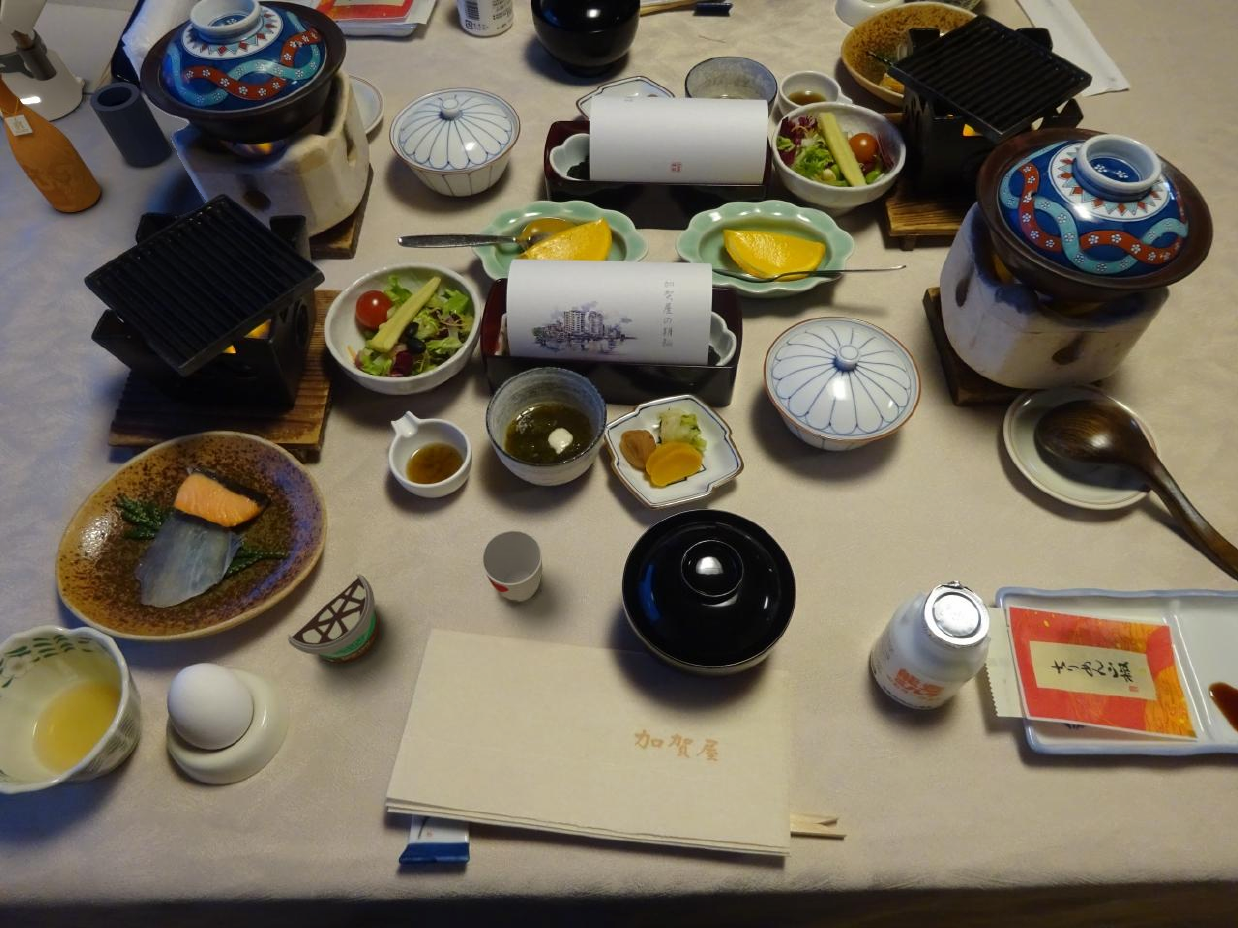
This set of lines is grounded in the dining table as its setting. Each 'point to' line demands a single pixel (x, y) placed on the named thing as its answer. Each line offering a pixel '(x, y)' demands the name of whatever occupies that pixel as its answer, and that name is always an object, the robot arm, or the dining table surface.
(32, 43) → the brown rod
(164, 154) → the dark gray hollow cylinder
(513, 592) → the cup
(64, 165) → the wine bottle
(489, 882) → the dining table surface
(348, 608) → the food container
